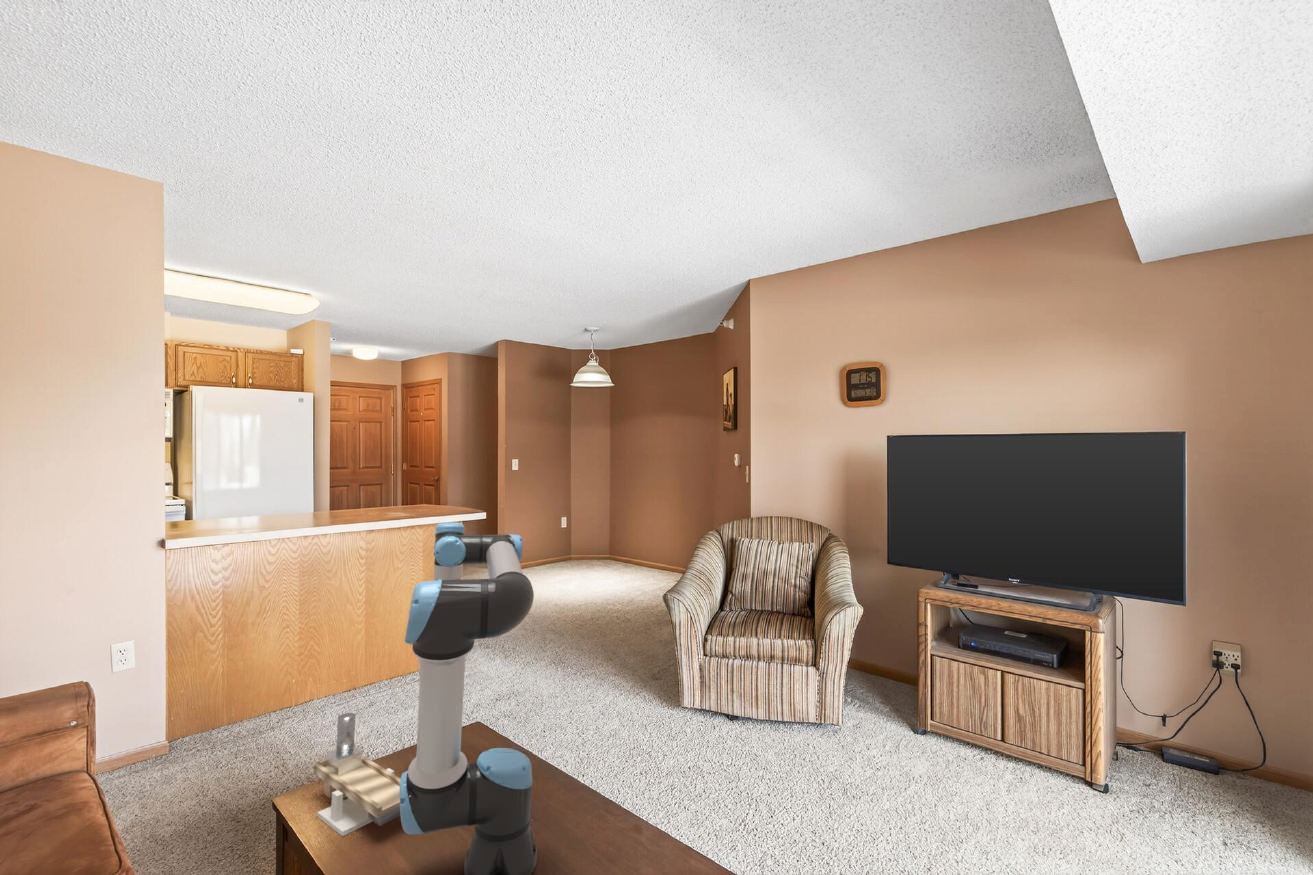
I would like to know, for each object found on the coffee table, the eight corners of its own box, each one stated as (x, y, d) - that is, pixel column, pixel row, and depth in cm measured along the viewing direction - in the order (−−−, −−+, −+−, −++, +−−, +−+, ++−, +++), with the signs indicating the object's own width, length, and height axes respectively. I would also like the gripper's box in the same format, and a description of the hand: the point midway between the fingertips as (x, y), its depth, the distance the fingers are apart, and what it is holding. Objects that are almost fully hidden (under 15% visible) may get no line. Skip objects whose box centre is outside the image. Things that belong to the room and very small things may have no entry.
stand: (406, 804, 149) (407, 776, 150) (342, 836, 136) (343, 805, 137) (363, 776, 161) (365, 750, 162) (300, 803, 148) (302, 774, 149)
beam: (418, 807, 142) (419, 786, 142) (375, 829, 133) (376, 806, 134) (353, 766, 160) (354, 747, 160) (312, 783, 151) (313, 763, 151)
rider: (361, 766, 153) (364, 715, 153) (338, 776, 148) (340, 723, 149) (349, 759, 156) (352, 709, 157) (326, 768, 152) (329, 716, 152)
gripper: (476, 571, 176) (473, 643, 175) (397, 584, 155) (393, 666, 155) (493, 574, 171) (490, 649, 171) (414, 588, 151) (410, 673, 150)
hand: (444, 657), depth 163 cm, fingers open, 13 cm apart
